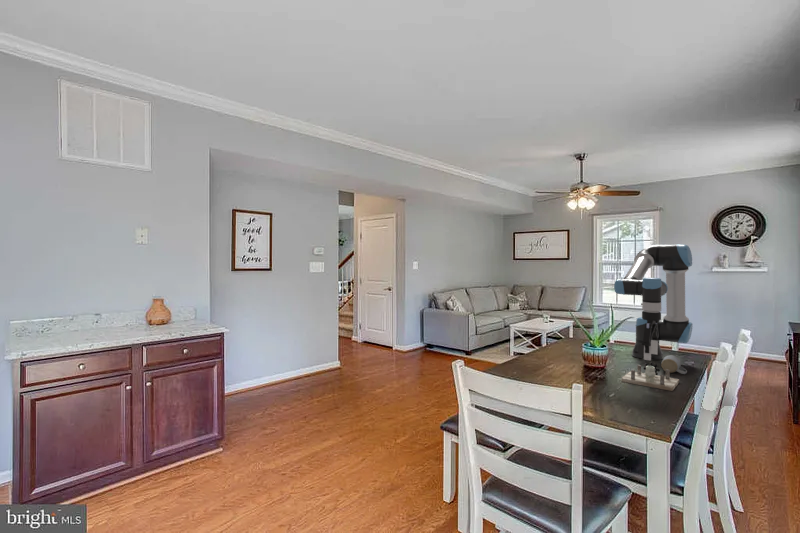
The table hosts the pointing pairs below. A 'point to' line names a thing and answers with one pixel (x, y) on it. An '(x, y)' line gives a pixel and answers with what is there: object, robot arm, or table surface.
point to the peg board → (659, 382)
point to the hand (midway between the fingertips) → (650, 356)
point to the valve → (651, 372)
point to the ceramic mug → (672, 364)
